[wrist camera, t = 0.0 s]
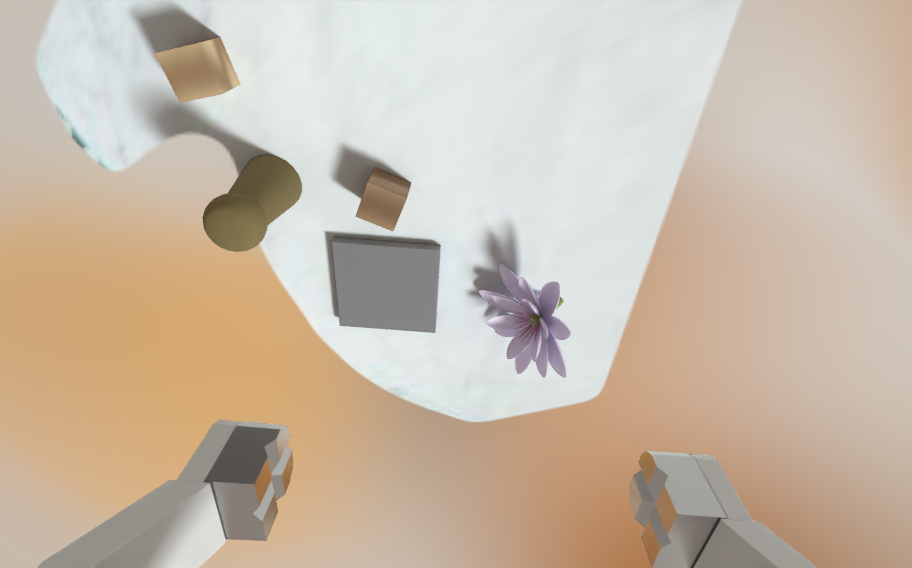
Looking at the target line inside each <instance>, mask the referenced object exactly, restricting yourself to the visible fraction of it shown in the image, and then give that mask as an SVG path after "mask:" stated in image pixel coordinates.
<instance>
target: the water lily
mask: <svg viewBox="0 0 912 568" xmlns="http://www.w3.org/2000/svg"><path fill="white" fill-rule="evenodd" d="M499 265H500V267H499V273H500V276H501V279H502V281H503V283H504V285H505V286H506V288H507V289H508V291H509V292H510V293H511V294H512V295H513V296H514V297H515V298H516V299H517V300H518V301H519V302H520V303H519V302H518V301H516V300H514V299H512V298H510V297H508V296H505V295H502V294H499V293H496V292H492V291H486V290H480V291H479V293H480V295H481V296H482V297H483V299H484V300H485V301H487V302H488V303H489V304H491V305H492V306H494V307H496V308H498V309H501V310H503V311H506V312H510V313H514V314H509V315H501V316H497V317H494V318H492V319H490V320H489V321H487V323H486V324H487V325H488V326H490V327H492V328H493V329H495V332H496V333H497V334H499V335H501V336H504V337H513V336H515V337H514V338H513V339H512V341H511V342H510V344H509V346H508V349H507V359H512V358H514V357H515V367H516V371H517V373H518V374H520V373H522V372H523V371H524V370H525V369H526V368H527V367H528V365H529V363H530V361H531V359H532V360H533V361H534V362H535V361H536V365H537V368H538V371H539V372H540V374H541V375H542V377H545V376H546V372H547V366H548V360H549V362H550V364H551V366H552V367H553V369H554V370H555V371H556V372H557V373H558V374H559V375H560V376H562V377H565V378H566V369H565V363H564V359H563V355H562V352H561V350H560V347H559V345H558V343H557V341H556V339H555V338H557V339H559V340H565V339H567V338H568V337H569V336H570V334H571V333H570V331H569V329H568V328H567V326H566V325H565V324H564V323H563V322H562V321H561V320H560V319H558V318H557V317H555V316H552V314H553V313H554V311H555V310H556V309H557V308H558V307H559V306H560V305H561V304H562V303H563V299H561V298H560V285H559V283H558V282H549V283H547V284H546V285H544V286H543V287H542V289H541V291H540V293H539V299H538V297H537V295H536V293H535V291H534V290H533V288H532V287H531V286H530V284H529V283H528V282H527V281H526V280H525V279H524V278H520V279H519V278H518V277H517V276H516V275H515V274H514V273H513V272H512V271H511V270H509V269H508V268H507V267H506V266H504V265H503V264H501V263H500V264H499ZM518 314H519V315H518Z"/></svg>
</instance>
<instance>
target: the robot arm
mask: <svg viewBox="0 0 912 568" xmlns="http://www.w3.org/2000/svg"><path fill="white" fill-rule="evenodd" d="M289 438H290V435H289V429H288V426H285V425H276V424H266V423H256V422H255V423H254V422H245V421H232V420H218V421H217V422H216V423H214V424H213V425H212V427H211V429H210V430H209V431H208V433H207V435H206V436H205V438H204V439H203V441H202V442H201V444H200V445H199V447H198V448H197V450H196V451H195V453H194V455H193V456H192V458H191V459H190V461H189V462H188V464H187V465H186V467H185V468H184V470H183V471H182V473H181V474H180V476H179V477H178V479H177V480H169V481H167V482H166V483H164V484H163V485H161V486H160V487H158V488H156V489H155V490H153V491H152V492H150V493H149V494H147V495H146V496H144V497H142V498H141V499H139V500H138V501H137V502H135V503H133V504H132V505H130V506H128V507H127V508H125V509H124V510H122V511H121V512H119V513H118V514H116V515H115V516H113V517H112V518H110V519H108V520H107V521H105V522H104V523H102V524H101V525H99V526H98V527H96V528H95V529H93V530H91V531H90V532H88V533H87V534H85V535H84V536H82V537H80V538H79V539H78V540H76V541H74V542H73V543H71V544H70V545H68V546H67V547H65V548H63V549H62V550H60V551H59V552H57V553H56V554H54V555H53V556H51V557H50V558H48V559H46V560H45V561H43V562H42V563H41V564H40V565H39V567H38V568H199V567H200V566H201V565H202V564H203V563H204V562H205V561H206V560H207V559H208V558H210V557H211V556H212V555H213V554H214V553H215V552H216V551H217V550H218V549H219V548H220V547H221V546H222V545H223V544H224V543H225V542H226V539H234V540H259V541H266V540H267V538H268V535H269V533H270V530H271V528H272V525H273V523H274V520H275V518H276V516H277V513H278V510H277V503H276V501H277V500H278V499H279V498H280V497H282V496H283V495H284V494H285V493H286V490H287V487H288V485H289V482H290V478H291V473H292V469H293V455H292V450H290V448H289V447H287V446H286V445H287V443H288V441H289ZM639 464H640V467H641V470H640V471H639V472H637V473H636V474H634V476H633V478H632V481H631V484H630V502H631V508H632V511H633V514H634V517H635V519H636V520H637V521H638V522H639V523H640V524H641V525H642V526H643V527H644V528H645V529H644V532H643V534H642V537H641V538H642V541H643V544H644V546H645V549H646V552H647V555H648V558H649V561H650V564H651V567H654V568H818V567H816V566H815V565H814V564H813V563H811V562H810V561H809V560H808V559H806V558H805V557H804V556H802V555H801V554H800V553H799V552H798V551H796V550H795V549H794V548H793V547H791V546H790V545H789V544H788V543H786V542H785V541H784V540H783V539H781V538H780V537H779V536H777V535H776V534H775V533H774V532H773V531H771V530H770V529H769V528H767V527H766V526H765V525H764V524H762V523H761V522H759V521H753V520H752V518H751V516H750V515H749V513H748V511H747V510H746V508H745V506H744V504H743V503H742V501H741V499H740V498H739V496H738V494H737V493H736V491H735V489H734V487H733V486H732V484H731V482H730V481H729V479H728V477H727V476H726V474H725V472H724V470H723V469H722V467H721V465H720V464H719V462H718V460H717V459H716V458H715V457H714V456H712V455H701V454H687V453H673V452H657V451H645V452H644V453H643V454H642V455H641V457H640V460H639Z"/></svg>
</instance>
